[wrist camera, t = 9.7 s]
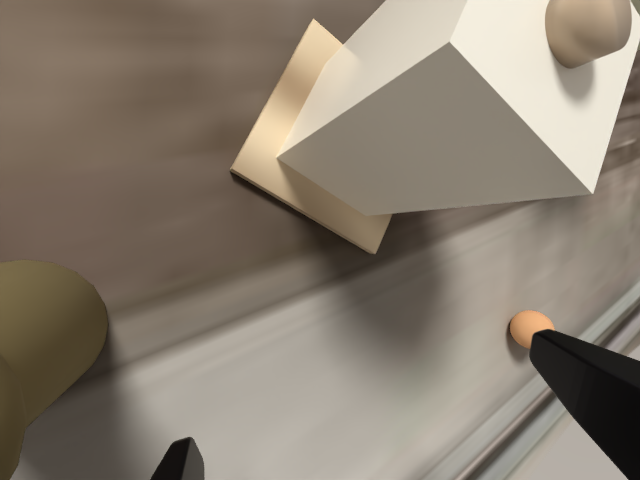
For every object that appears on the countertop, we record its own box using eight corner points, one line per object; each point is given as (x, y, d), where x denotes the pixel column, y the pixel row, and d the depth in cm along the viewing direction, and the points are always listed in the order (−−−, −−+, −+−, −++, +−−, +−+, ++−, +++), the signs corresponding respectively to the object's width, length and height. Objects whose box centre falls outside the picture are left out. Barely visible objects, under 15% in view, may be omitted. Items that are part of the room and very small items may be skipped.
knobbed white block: (365, 216, 21) (636, 190, 9) (276, 157, 18) (490, 14, 6) (404, 129, 22) (688, 5, 10) (325, 63, 19) (582, -204, 8)
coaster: (370, 253, 22) (375, 254, 21) (229, 170, 18) (231, 168, 17) (425, 125, 23) (431, 123, 23) (309, 24, 19) (313, 18, 19)
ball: (515, 349, 28) (553, 362, 25) (496, 331, 27) (534, 341, 24) (529, 319, 29) (567, 328, 26) (511, 300, 28) (550, 307, 25)
